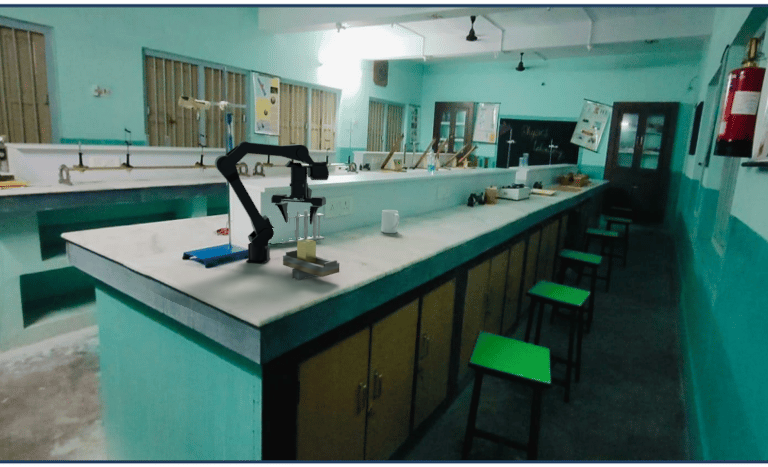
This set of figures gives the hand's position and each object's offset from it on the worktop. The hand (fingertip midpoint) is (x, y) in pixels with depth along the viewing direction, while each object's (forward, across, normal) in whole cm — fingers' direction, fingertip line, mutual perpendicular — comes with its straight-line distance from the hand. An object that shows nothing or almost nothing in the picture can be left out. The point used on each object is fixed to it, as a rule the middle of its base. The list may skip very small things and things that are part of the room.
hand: (298, 223), depth 161 cm
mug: (+13, -27, -59) cm, 66 cm away
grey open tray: (+13, -11, +22) cm, 28 cm away
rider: (+8, -10, +20) cm, 24 cm away
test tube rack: (+13, +10, -27) cm, 32 cm away
